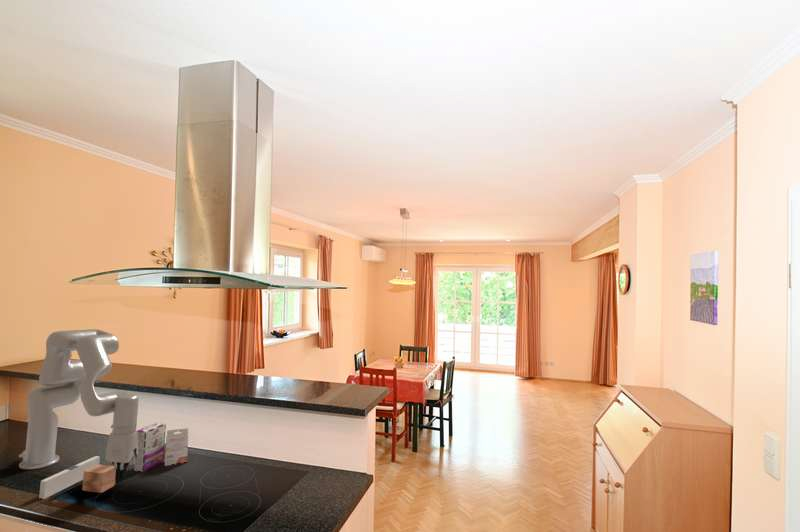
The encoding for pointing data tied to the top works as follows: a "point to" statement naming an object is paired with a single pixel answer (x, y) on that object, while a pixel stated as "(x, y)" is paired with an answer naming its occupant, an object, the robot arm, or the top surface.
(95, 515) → the top surface
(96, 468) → the terracotta block
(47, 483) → the grey board
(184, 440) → the ink cartridge box
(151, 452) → the candy bar box
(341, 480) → the top surface
